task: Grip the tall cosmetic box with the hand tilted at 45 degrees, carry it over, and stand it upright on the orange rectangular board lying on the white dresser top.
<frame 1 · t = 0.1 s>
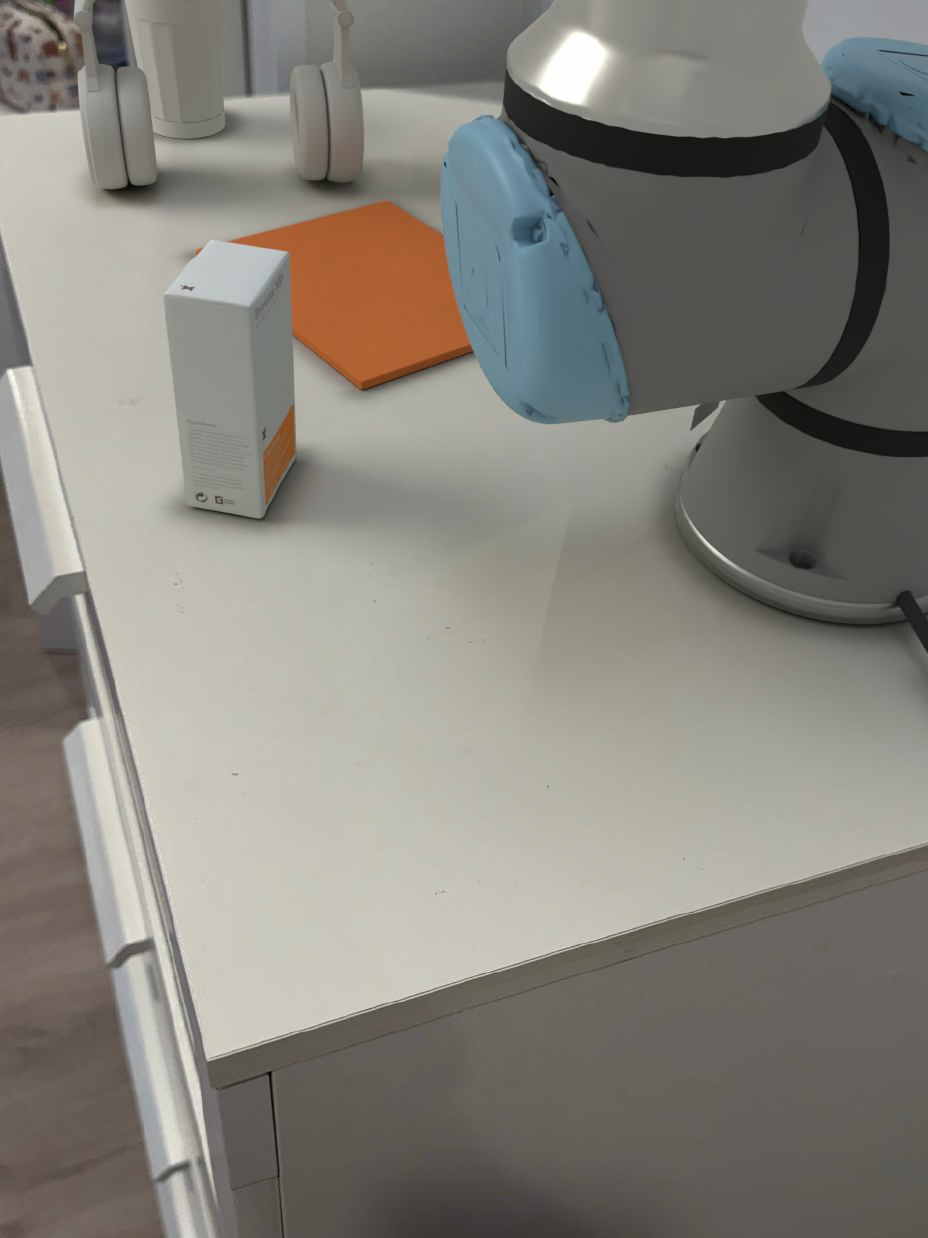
orange rectangular board: (375, 287, 79), on the dresser
cosmetic box: (245, 484, 62), on the dresser
headphones: (228, 183, 90), on the dresser
cup: (186, 126, 98), on the dresser
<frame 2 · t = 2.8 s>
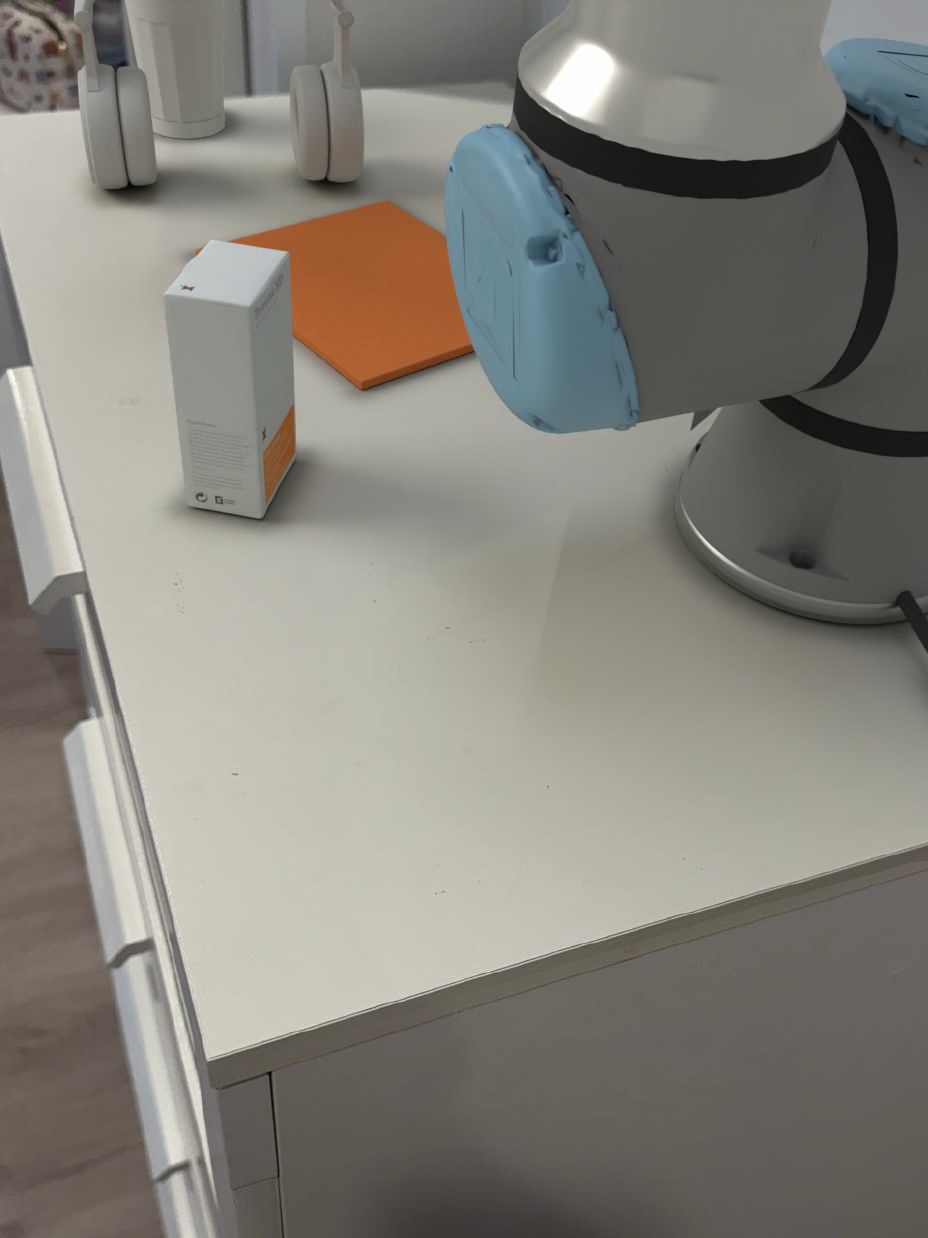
nothing on the dresser moved.
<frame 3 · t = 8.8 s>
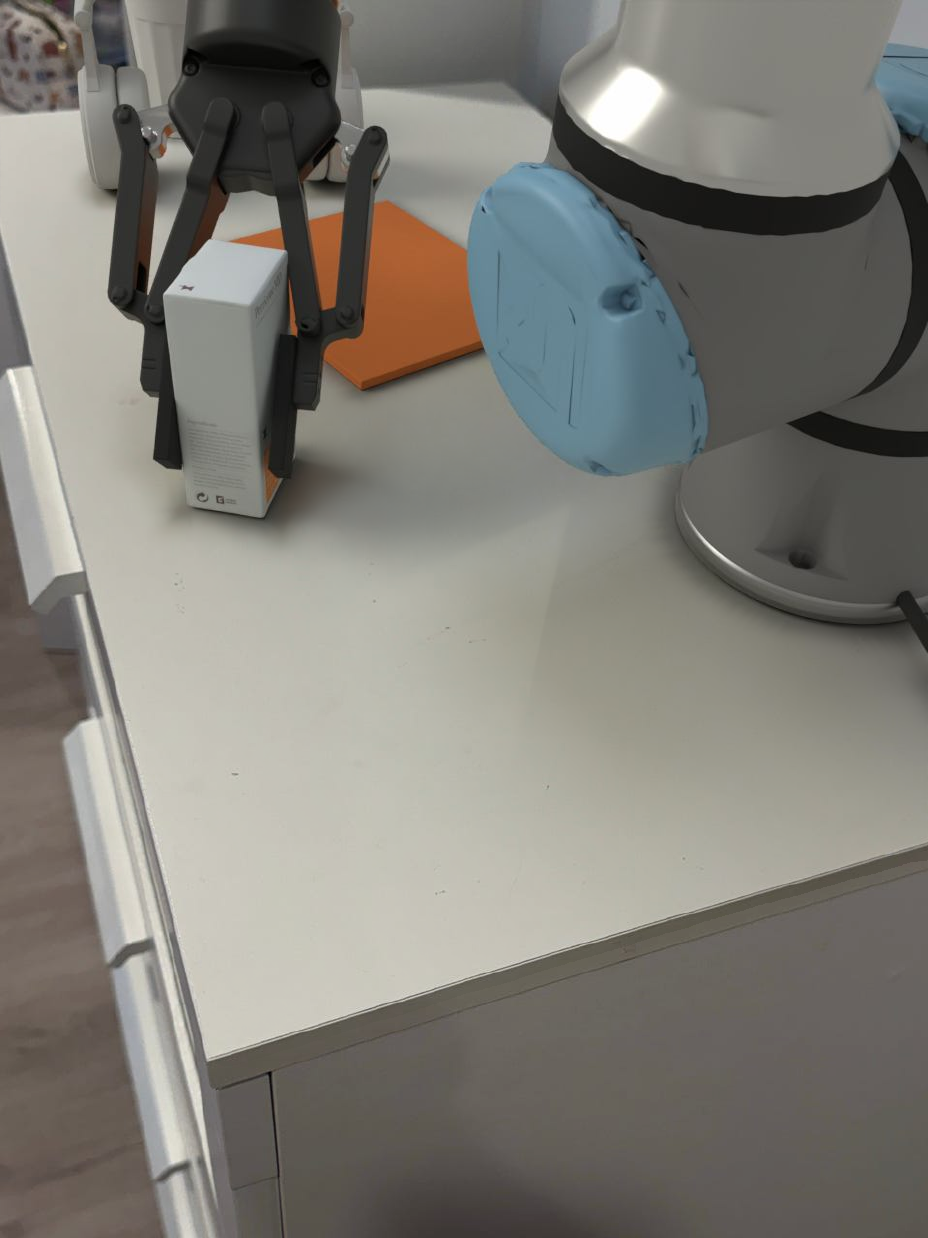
hand: (224, 468, 57), 3 cm above the dresser, tool tilted 45°, fingers closed on cosmetic box, 5 cm apart
cosmetic box: (245, 483, 62), on the dresser, touching gripper
everything else where it was.
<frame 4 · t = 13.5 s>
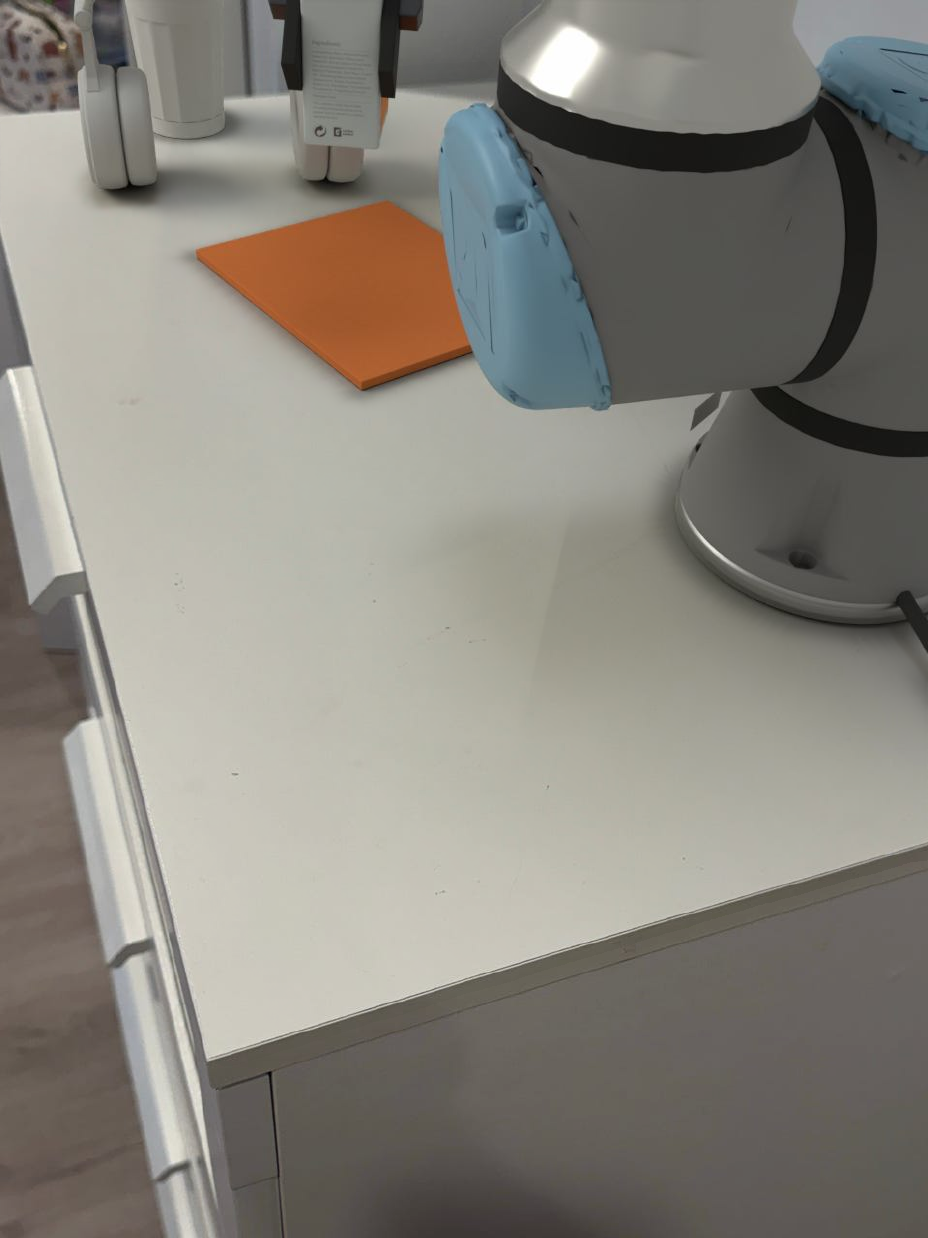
hand: (339, 80, 61), 16 cm above the dresser, tool tilted 45°, fingers closed on cosmetic box, 4 cm apart
cosmetic box: (348, 132, 67), point 12 cm above the dresser, touching gripper
everything else where it was.
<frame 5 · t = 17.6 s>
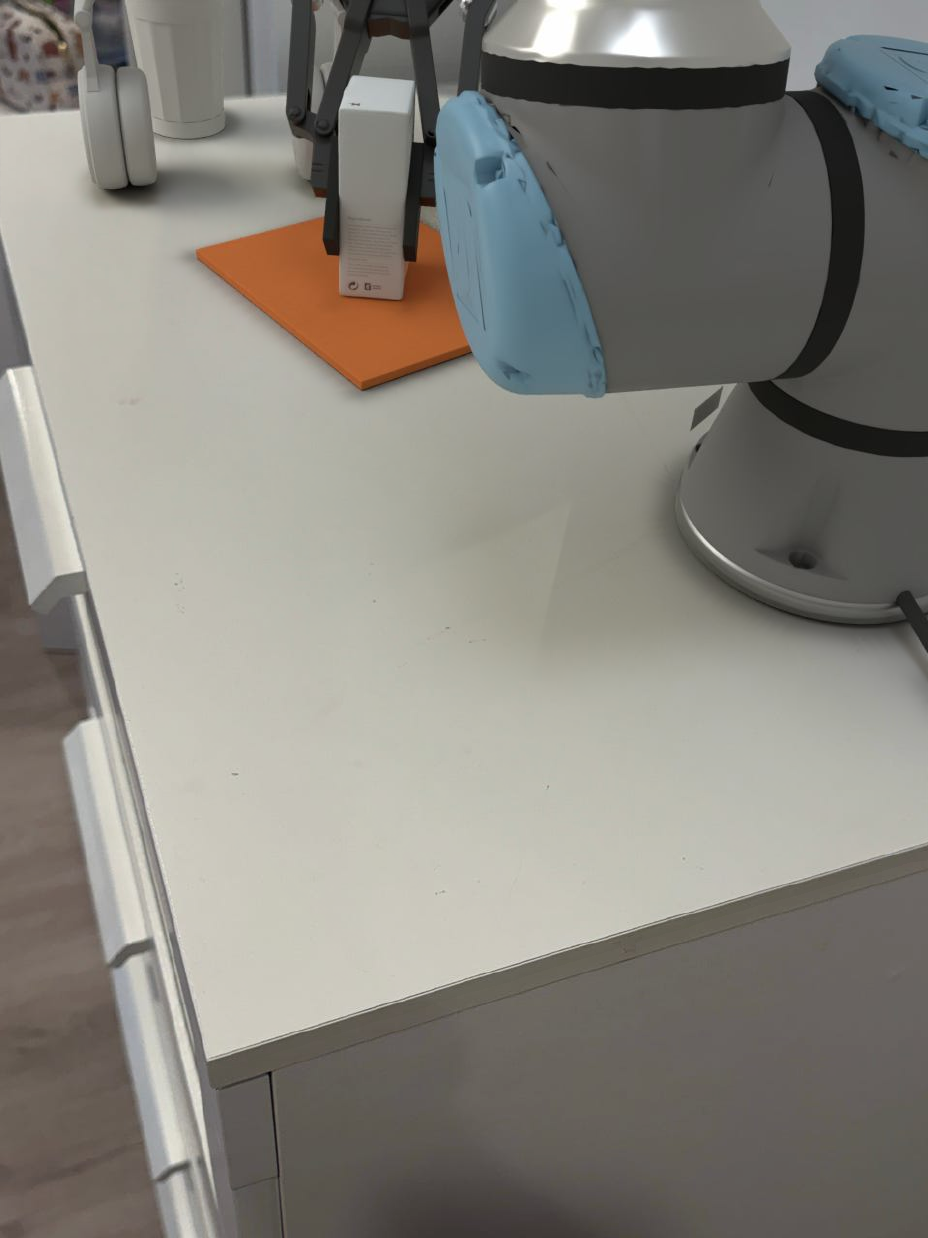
hand: (370, 250, 73), 4 cm above the dresser, tool tilted 45°, fingers closed on cosmetic box, 4 cm apart
cosmetic box: (376, 280, 79), resting on orange rectangular board, touching gripper
everything else where it was.
when the fingers open (4 cm above the dresser, at t = 17.7 s): cosmetic box stays where it is, resting on orange rectangular board.
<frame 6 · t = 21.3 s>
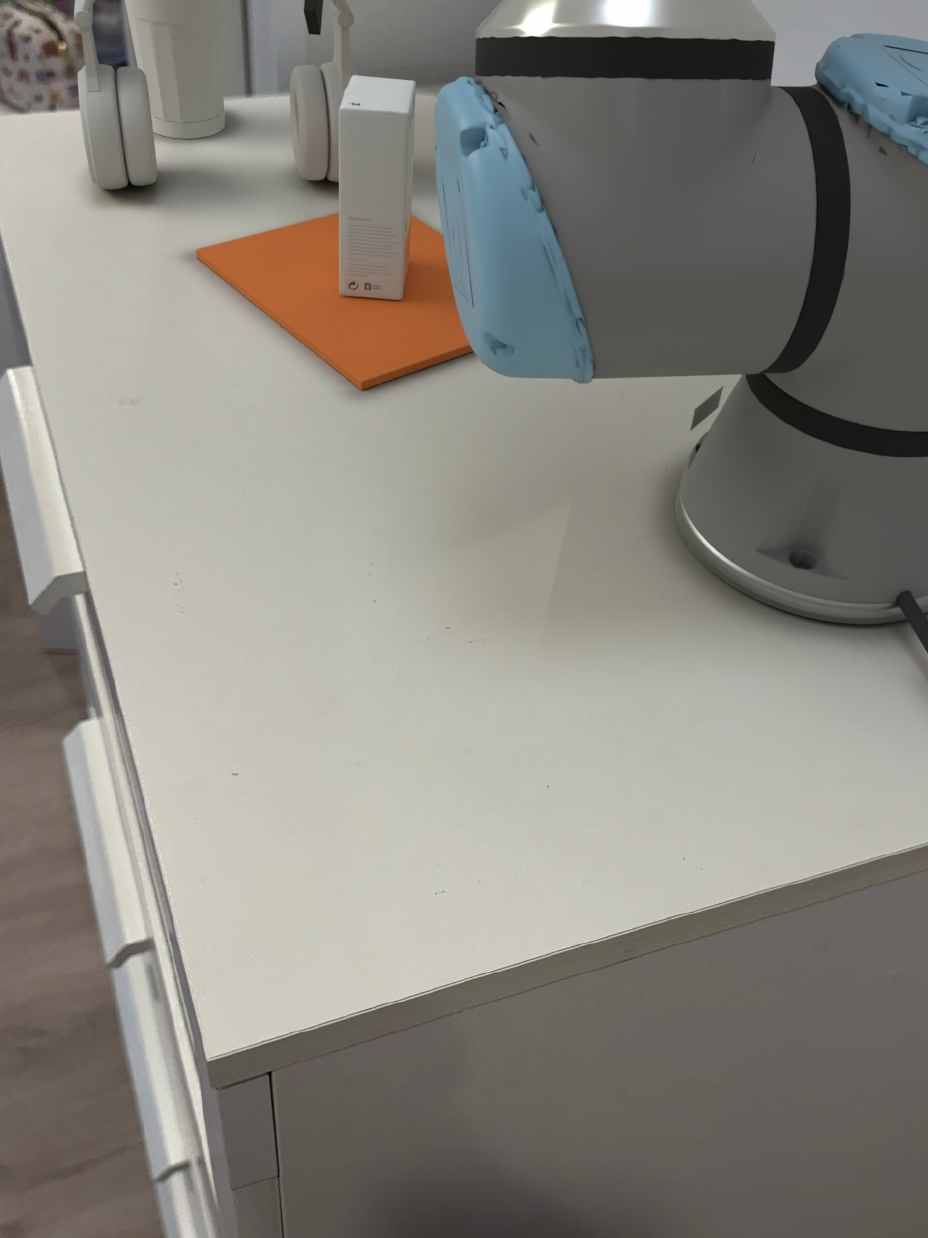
hand: (417, 32, 76), 14 cm above the dresser, tool tilted 45°, fingers open, 13 cm apart
cosmetic box: (376, 280, 79), resting on orange rectangular board
everything else where it was.
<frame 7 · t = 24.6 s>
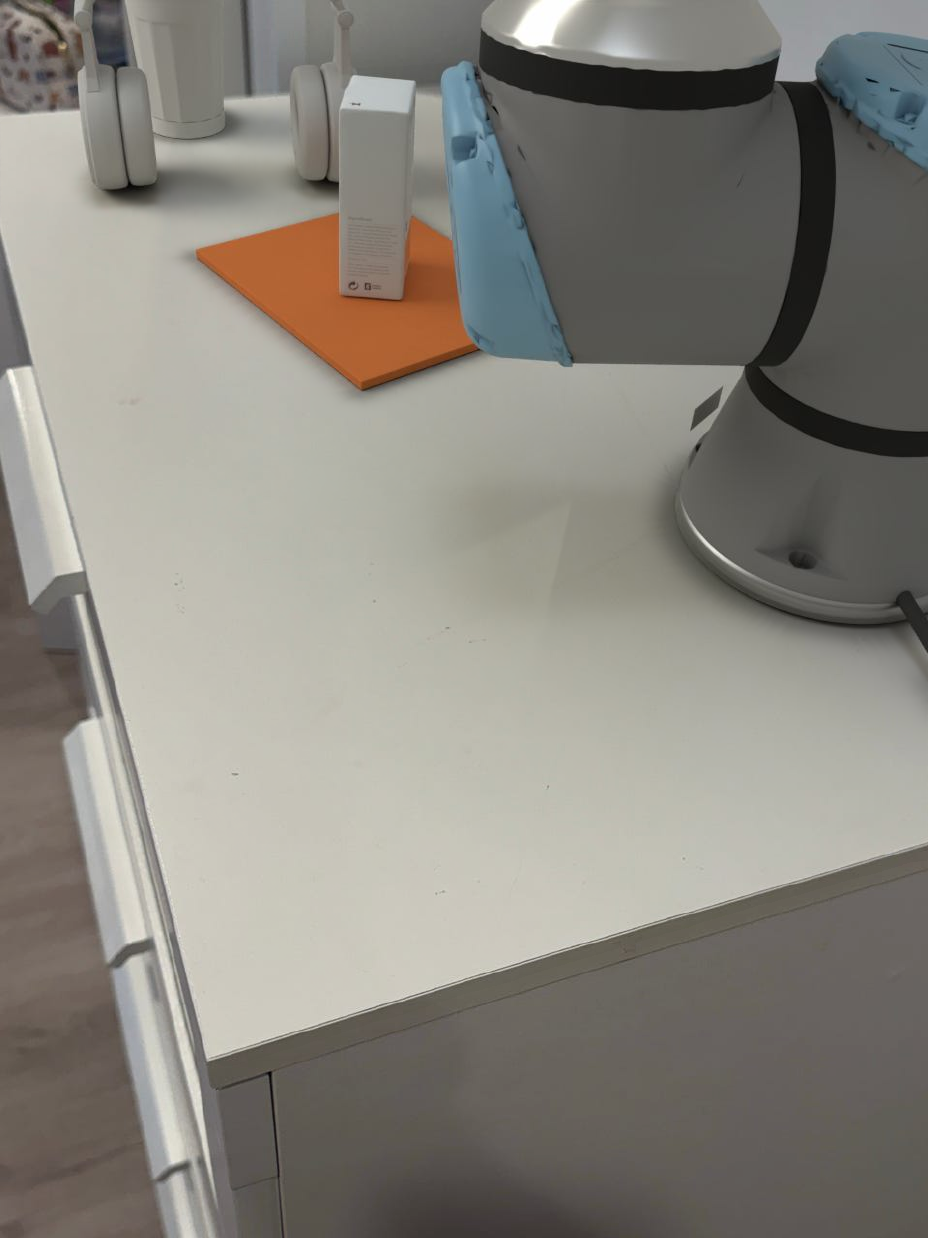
nothing on the dresser moved.
at the end: cosmetic box inside the target area on the orange rectangular board (0.2 cm from its centre), point 0.4 cm above the orange rectangular board's base; cosmetic box tilted 0°; the gripper is holding nothing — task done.
